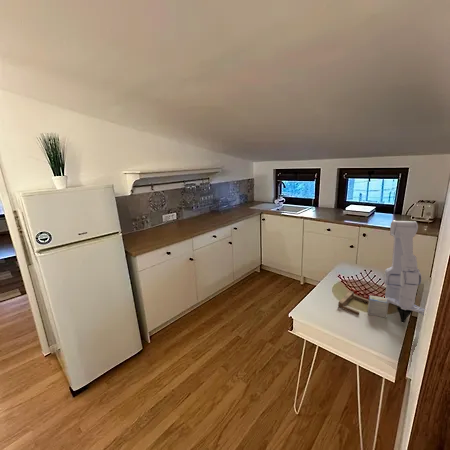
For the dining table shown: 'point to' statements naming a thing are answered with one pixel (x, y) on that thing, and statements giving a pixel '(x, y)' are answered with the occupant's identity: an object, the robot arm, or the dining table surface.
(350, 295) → the end stop
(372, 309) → the medicine box
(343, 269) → the dining table surface
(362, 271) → the dining table surface
